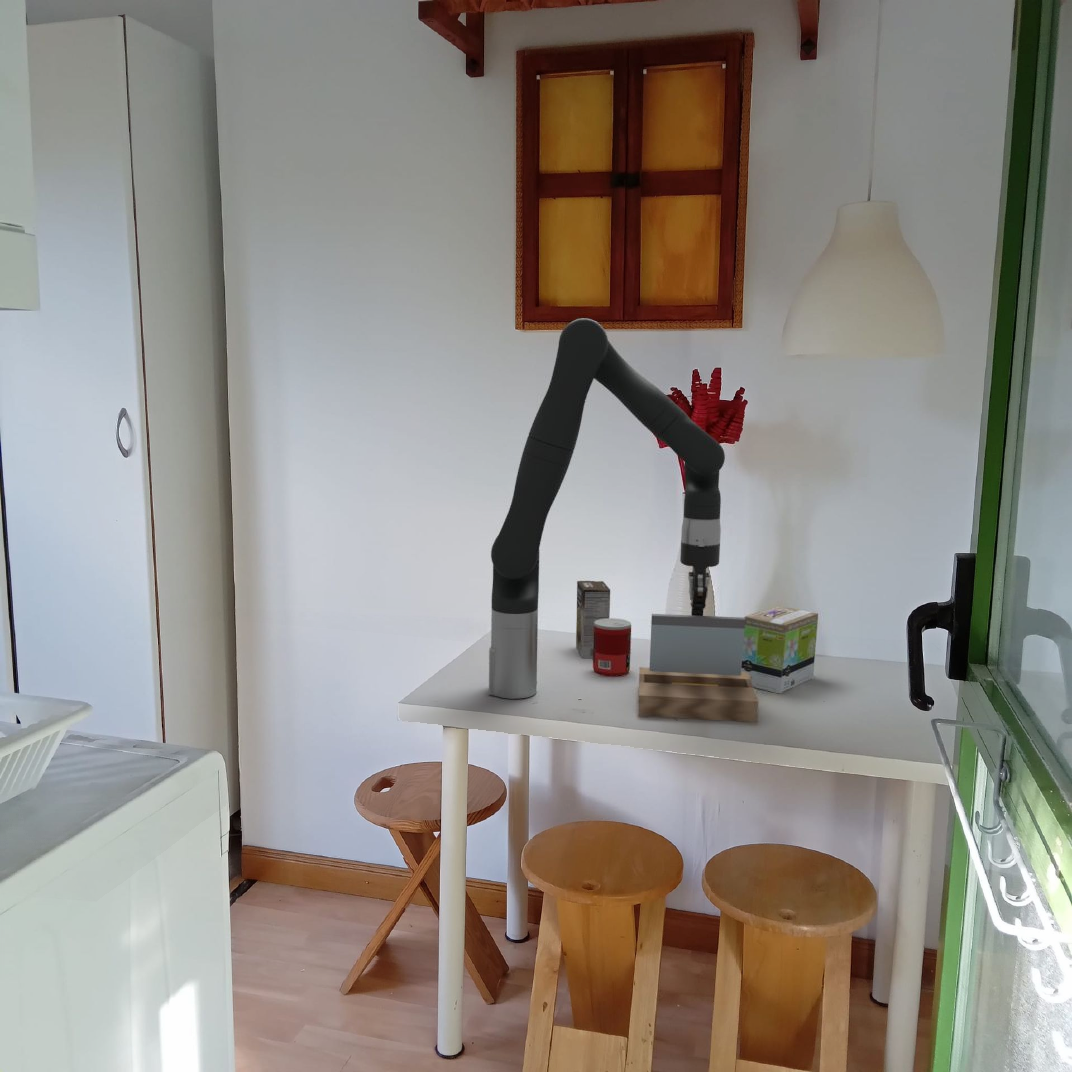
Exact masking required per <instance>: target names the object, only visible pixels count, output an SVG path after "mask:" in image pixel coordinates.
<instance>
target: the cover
mask: <svg viewBox="0 0 1072 1072" xmlns="http://www.w3.org/2000/svg"><path fill="white" fill-rule="evenodd" d="M650 624H651V625H650V628H651V629H650V646H649V648H650V649H649V668H650V670H649V671H654V672H675V673H695V674H716V675H737V676H741V667H742V655H743V643H744V631H745V618H744V617H742V616H741V617H738V616H736V617H735V616H718V615H717V616H715V615H703V616H694V615H690V614H687V615H686V614H671V613H670V614H667V613H665V614H664V613H651V620H650Z"/></svg>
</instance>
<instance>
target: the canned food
mask: <svg viewBox="0 0 1072 1072" xmlns="http://www.w3.org/2000/svg"><path fill="white" fill-rule="evenodd" d="M631 643H632V622H631V621H629V620H626V619H622V618H611V617H609V618H606V619H599V620H596V621H595V622H594V640H593V658H592V670H593V672H594V673H595V674H597V675H598V676H604V677H609V678H610V677H611V678H612V677H614V678H615V677H616V678H618V677H624V676H627V675H628V674H629V672H630V668H631V645H632V644H631Z"/></svg>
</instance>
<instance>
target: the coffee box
mask: <svg viewBox="0 0 1072 1072" xmlns="http://www.w3.org/2000/svg"><path fill="white" fill-rule="evenodd" d="M610 606H611V589H610V587H608V585H607V584H606V583H605V582H604V581H603V580H599V581H597V580H596V581H594V580H576V631H575V633H576V634H575V648H576V650H577V652H578V654H579V655H580V657H581V659H593V640H594V622H595V621H596V620H599V619H606V618H610V616H611V615H610V613H611V611H610V610H611V609H610V608H611V607H610Z"/></svg>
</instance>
